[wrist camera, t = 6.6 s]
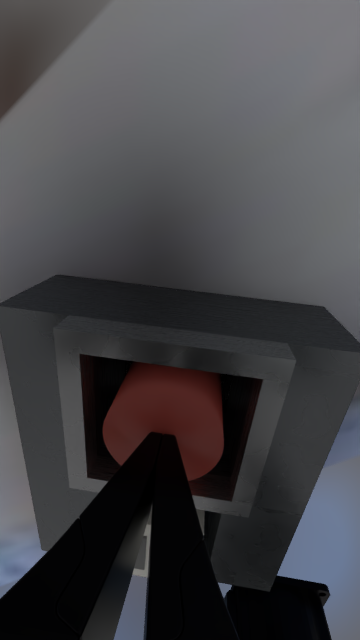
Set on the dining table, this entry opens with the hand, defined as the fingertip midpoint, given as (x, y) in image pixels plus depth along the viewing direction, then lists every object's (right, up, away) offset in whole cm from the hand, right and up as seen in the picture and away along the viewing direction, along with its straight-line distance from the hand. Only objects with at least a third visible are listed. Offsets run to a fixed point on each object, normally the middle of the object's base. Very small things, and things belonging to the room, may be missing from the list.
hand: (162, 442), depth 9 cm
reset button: (+1, +2, +4) cm, 5 cm away
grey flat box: (0, -1, +6) cm, 6 cm away
